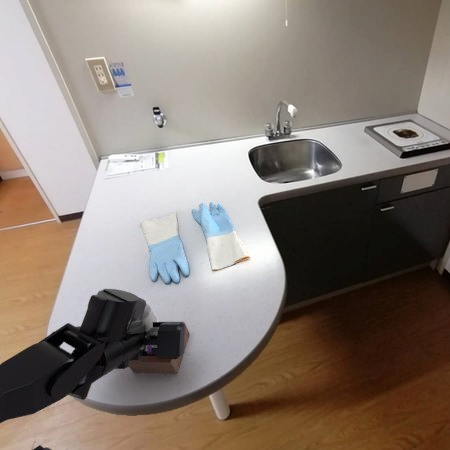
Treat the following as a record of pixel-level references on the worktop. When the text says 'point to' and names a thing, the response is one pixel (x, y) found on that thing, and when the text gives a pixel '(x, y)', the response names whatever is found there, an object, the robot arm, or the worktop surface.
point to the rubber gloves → (173, 247)
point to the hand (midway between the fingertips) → (154, 329)
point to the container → (149, 323)
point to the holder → (157, 362)
